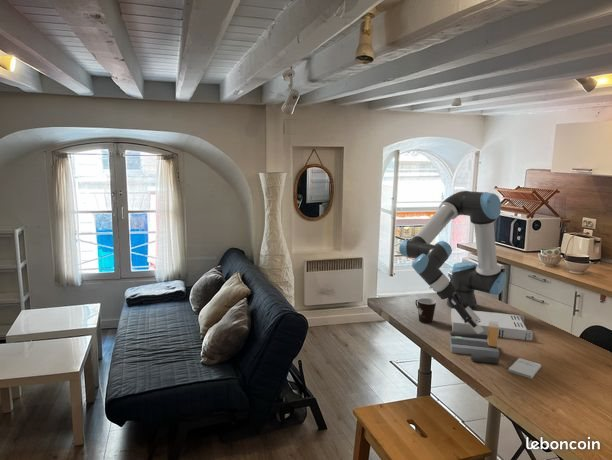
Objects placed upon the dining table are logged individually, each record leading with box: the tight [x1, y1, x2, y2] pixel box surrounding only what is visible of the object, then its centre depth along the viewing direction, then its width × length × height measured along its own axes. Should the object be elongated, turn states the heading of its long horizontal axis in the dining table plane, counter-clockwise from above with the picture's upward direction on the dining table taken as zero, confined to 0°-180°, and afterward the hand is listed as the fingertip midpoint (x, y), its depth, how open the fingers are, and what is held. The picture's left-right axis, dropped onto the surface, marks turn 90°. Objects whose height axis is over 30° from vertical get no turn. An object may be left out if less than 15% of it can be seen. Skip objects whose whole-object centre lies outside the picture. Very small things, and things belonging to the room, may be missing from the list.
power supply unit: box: [450, 307, 533, 341], centre depth 205 cm, size 19×33×5 cm, turn 74°
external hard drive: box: [507, 357, 542, 380], centre depth 166 cm, size 2×8×12 cm
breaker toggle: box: [487, 321, 499, 347], centre depth 180 cm, size 3×4×9 cm
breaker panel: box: [448, 335, 500, 359], centre depth 183 cm, size 18×11×3 cm, turn 76°
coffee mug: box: [415, 297, 437, 324], centre depth 213 cm, size 12×9×10 cm
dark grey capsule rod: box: [470, 355, 500, 365], centre depth 171 cm, size 10×2×2 cm, turn 76°
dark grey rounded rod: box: [450, 331, 488, 340], centre depth 193 cm, size 16×2×2 cm, turn 76°
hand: (478, 325), depth 180 cm, fingers open, 13 cm apart
